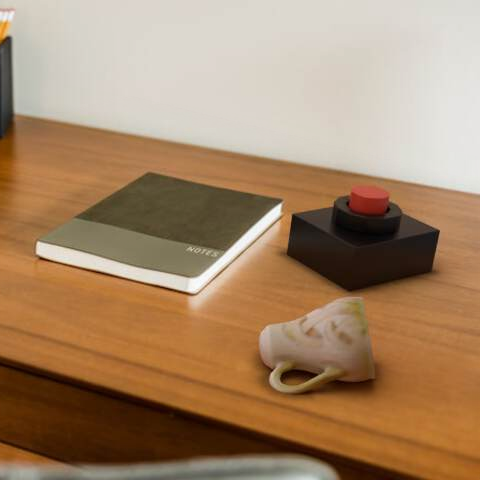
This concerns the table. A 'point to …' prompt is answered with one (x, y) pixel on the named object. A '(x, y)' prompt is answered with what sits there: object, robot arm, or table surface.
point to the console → (362, 244)
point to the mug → (321, 346)
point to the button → (369, 199)
